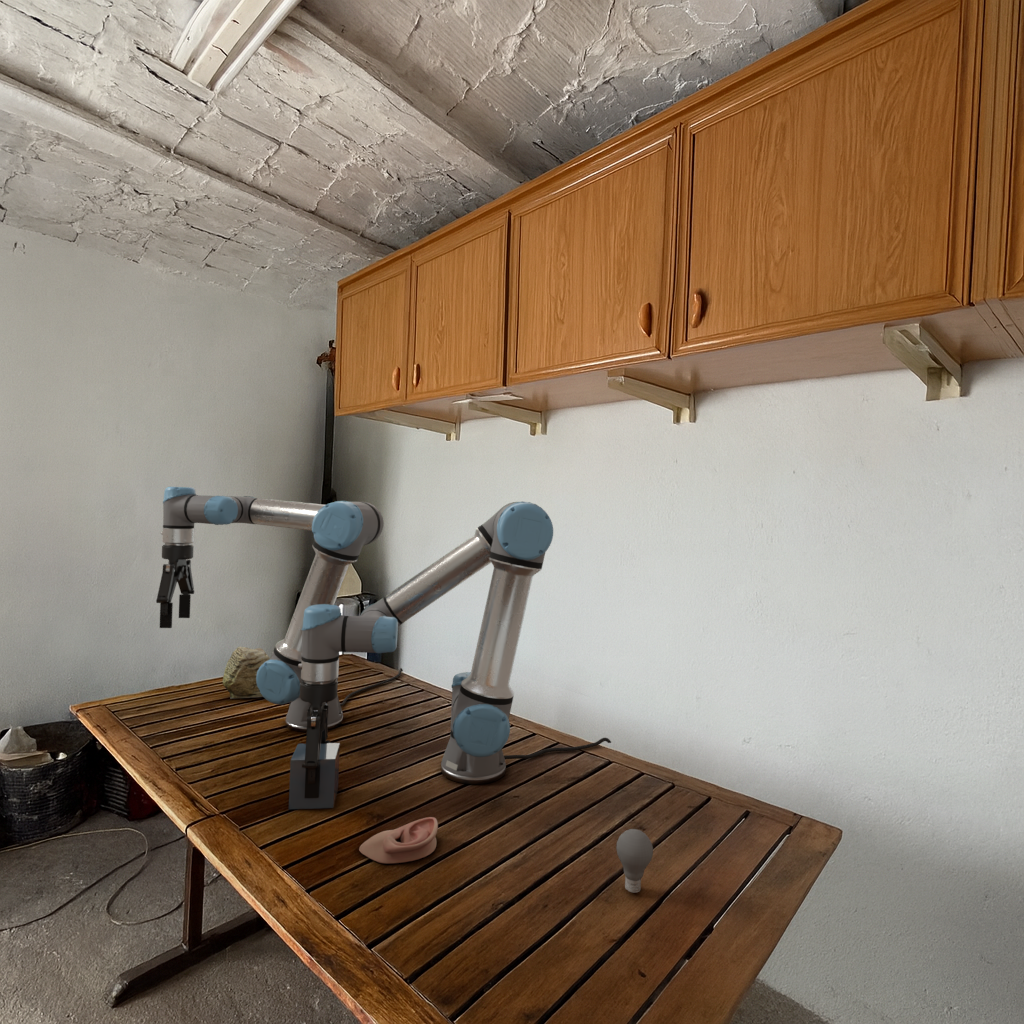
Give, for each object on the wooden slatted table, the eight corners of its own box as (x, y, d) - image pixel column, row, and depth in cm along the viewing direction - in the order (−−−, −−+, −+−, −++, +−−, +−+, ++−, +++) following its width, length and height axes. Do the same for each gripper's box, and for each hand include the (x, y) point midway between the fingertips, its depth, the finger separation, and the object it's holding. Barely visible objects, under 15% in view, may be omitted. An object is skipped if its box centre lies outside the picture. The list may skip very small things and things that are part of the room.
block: (296, 790, 136) (297, 743, 136) (338, 788, 138) (339, 742, 137) (288, 809, 128) (290, 760, 128) (333, 808, 129) (335, 759, 129)
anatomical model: (352, 836, 111) (378, 805, 123) (351, 858, 111) (377, 826, 123) (423, 847, 109) (444, 815, 120) (422, 870, 109) (443, 836, 120)
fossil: (218, 695, 195) (220, 647, 195) (278, 685, 208) (279, 640, 207) (228, 703, 189) (230, 653, 188) (289, 692, 201) (290, 645, 201)
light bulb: (610, 879, 108) (613, 822, 108) (644, 879, 109) (647, 822, 109) (619, 902, 102) (622, 840, 102) (655, 901, 103) (658, 840, 103)
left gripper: (179, 540, 182) (177, 613, 182) (143, 547, 157) (140, 632, 158) (207, 541, 183) (204, 614, 184) (176, 548, 159) (173, 632, 159)
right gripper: (308, 665, 142) (305, 765, 143) (291, 695, 121) (286, 812, 121) (343, 666, 143) (339, 764, 144) (331, 695, 122) (327, 811, 123)
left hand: (175, 622), depth 171 cm, fingers open, 13 cm apart
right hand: (315, 786), depth 133 cm, fingers open, 9 cm apart
